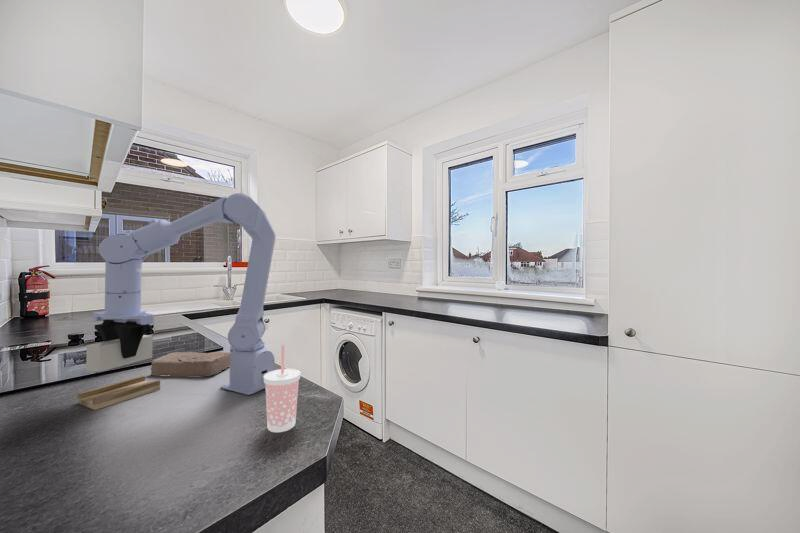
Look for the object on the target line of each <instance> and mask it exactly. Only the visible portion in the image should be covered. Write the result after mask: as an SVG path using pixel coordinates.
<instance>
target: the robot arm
mask: <svg viewBox="0 0 800 533" xmlns="http://www.w3.org/2000/svg"><path fill="white" fill-rule="evenodd" d="M234 222H235V223H236V224H238V225H240V227H242V228H243V230H245V232H246V233H247V234H248V235H249V237H250V238H251V246H250V250H249V257H248V263H247V268H246V271H245V272H246V274H245V279H244V284H243V290H242V295H241V301H240V306H239V309H238V310H237V314H236V315H235V320H234V323H233V325H232V326H231V328H230V329H229V331H228V333H227V341H228V343H229V345H230V347H229V353H230V367H229V382H227V383H223V384H222V385H220V389H224V390H227V391H231V392H235V393H240V394H243V395H247V396H250V395H253V394H256V393H257V392H260V391H262V390H265V383H264V378H263V376H264V375H265V374H266V373H268V372H270V371H274V370H275V356H274V354H273V352H272V351H270V350H268V349H267V348H266V347H265V342H264V341H263V339H262V338H263V336H264V334H265V332H266V324H265V321H264V314H265V312H264V304H265V300H266V299H265V298H266V294H267V288H268V283H269V282H268V281H269V275H270V271H271V267H272V266H271V265H272V260H273V259H272V258H273V254H274V247H275V243H276V233H275V230H274V228H273V226H272V224H271V222H270V221H269V219H268V216H267V213H266V212H265V211H264V210H263V209H262V208H261V207H260V206H259V205H258V204H257V203H256V202H255V201H254V200H253V199H252V197H250V195H247V194H246V193H241V192H240V193H239V192H237V193H233V194H231V195H229V196H228V197H226V196H224V197H221V198H218V199H217V200H214V201H213V202H211V203H210V204H207V205H205V206H203V207H200V208H199V209H197V210H194V211H192V212H190V213H188V214H186V215H184V216H182V217H179V218H177V219H175V220H173V221H169V220H165V219H160V220H158V219H155V218H154V219H151V220H149V221H148V224H147V225H144V226H142V227H140V228H137V229H135V230H133V229H129V230H127V231H125V234H124V235H122V234H110V235H109V236H107V237H105V238H104V239H103V240H101V242H100V243H99V246H98V252H99V254H100V256H101V258H102V259H103V260H105V274H104V275H105V277H104V310H102V311H94V312H93V316H92V320H93V322H102V323H100V324H95V325H94V329H95V331H96V332H97V333H98V334H99V335H100V337H101V340H102V342H105V341H111V340H116V339H120V344H121V353H122V357H123V358H124V359H126V358H130V357H134V356H136V353H137V350H138V347H139V344H140V342H141V339H142V337H143V335H146V334H145V333H146V332H147V330H148V329H149V328H150V325H151V324H154V323H155V322H154V320H155V318H154V317H155V316H154V314H153V313H147V312H146V310H141V309H142V263H143V262H144V261H145V260H146V258H147V257H148V256H149V255H150V256H151V255H153V254H154V253H155V254H156V253H158V252H159V251H162V250H164V249H167V248H169V247H171V246H173V245H176V244H178V243H179V242H180V239H181V237H182V235H185V234H188V233H191V232H193V231H196V230H199V229H201V228H204V227H207V226H210V225H212V224H215V223H224V224H226V223H227V224H234Z"/></svg>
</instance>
